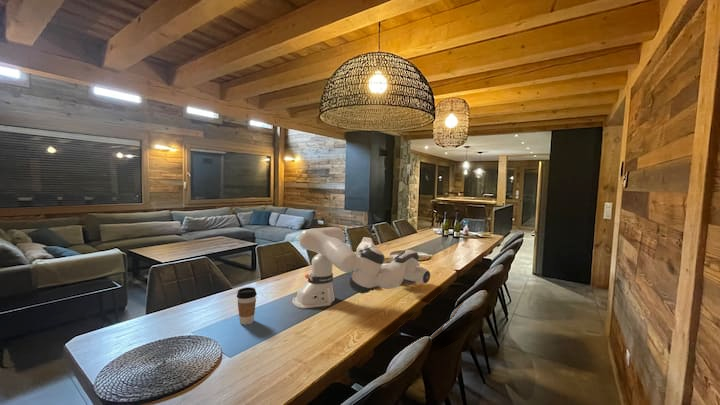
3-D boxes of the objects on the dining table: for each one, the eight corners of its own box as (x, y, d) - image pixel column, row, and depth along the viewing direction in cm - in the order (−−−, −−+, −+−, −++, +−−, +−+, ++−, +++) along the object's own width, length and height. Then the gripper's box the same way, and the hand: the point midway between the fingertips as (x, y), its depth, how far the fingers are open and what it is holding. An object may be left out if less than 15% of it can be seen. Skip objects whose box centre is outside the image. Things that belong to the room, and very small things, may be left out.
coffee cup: (235, 327, 131) (235, 293, 130) (238, 318, 139) (237, 286, 138) (256, 325, 133) (256, 292, 132) (257, 316, 141) (257, 285, 140)
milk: (378, 274, 208) (379, 237, 207) (369, 279, 199) (370, 240, 197) (363, 271, 215) (364, 235, 213) (354, 275, 205) (355, 238, 203)
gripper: (395, 277, 179) (381, 271, 191) (421, 272, 189) (406, 267, 201) (395, 267, 178) (381, 261, 190) (421, 262, 189) (407, 257, 201)
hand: (394, 264), depth 196 cm, fingers open, 8 cm apart
